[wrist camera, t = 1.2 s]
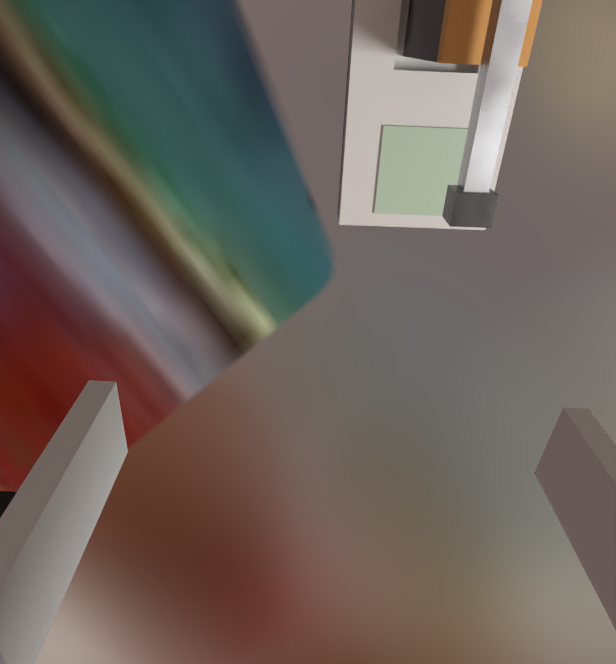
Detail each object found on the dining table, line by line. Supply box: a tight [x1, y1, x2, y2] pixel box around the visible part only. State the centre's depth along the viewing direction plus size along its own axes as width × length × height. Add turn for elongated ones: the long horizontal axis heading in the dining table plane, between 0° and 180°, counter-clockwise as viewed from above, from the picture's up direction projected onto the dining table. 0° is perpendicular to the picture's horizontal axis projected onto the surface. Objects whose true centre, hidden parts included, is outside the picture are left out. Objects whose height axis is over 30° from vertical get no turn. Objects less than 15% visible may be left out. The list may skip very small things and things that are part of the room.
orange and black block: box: [403, 0, 543, 67], centre depth 26 cm, size 4×4×11 cm
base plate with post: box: [338, 0, 523, 230], centre depth 27 cm, size 21×11×13 cm, turn 178°
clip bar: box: [442, 0, 533, 228], centre depth 20 cm, size 17×3×2 cm, turn 178°
